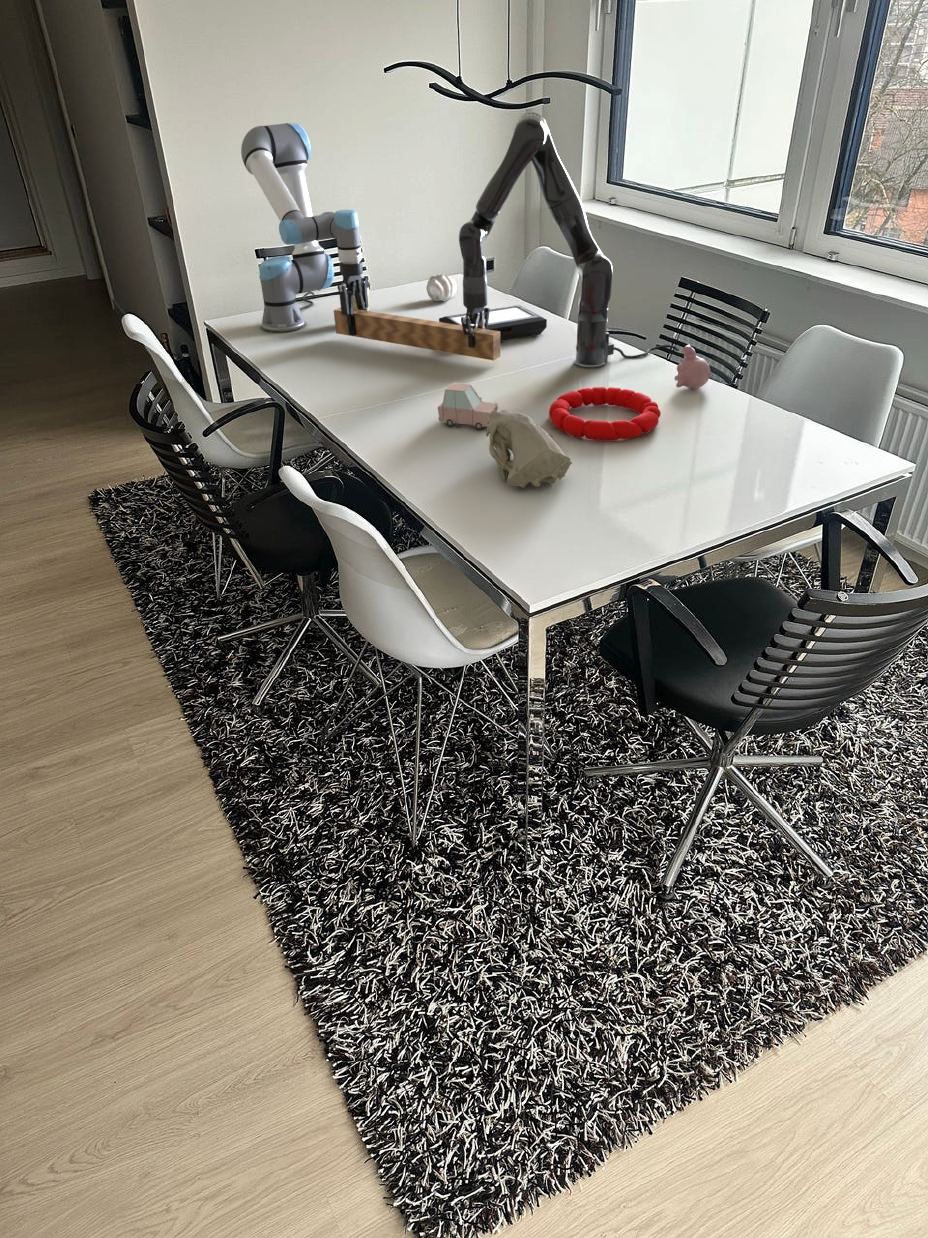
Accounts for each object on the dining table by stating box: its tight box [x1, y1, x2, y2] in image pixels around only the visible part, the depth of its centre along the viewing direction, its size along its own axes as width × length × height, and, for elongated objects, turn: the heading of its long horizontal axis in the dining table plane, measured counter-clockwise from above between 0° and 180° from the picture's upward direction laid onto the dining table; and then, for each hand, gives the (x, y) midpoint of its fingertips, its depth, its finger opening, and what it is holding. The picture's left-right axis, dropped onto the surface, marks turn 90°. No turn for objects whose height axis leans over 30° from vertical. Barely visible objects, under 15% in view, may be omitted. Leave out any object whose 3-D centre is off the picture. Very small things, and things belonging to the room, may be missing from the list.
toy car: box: [437, 382, 499, 431], centre depth 243 cm, size 9×15×10 cm, turn 70°
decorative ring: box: [548, 386, 661, 442], centre depth 242 cm, size 7×30×30 cm
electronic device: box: [438, 304, 548, 342], centre depth 309 cm, size 32×6×20 cm
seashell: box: [426, 274, 457, 302], centre depth 346 cm, size 10×15×10 cm
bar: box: [333, 306, 501, 361], centre depth 295 cm, size 64×4×8 cm, turn 58°
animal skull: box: [485, 409, 573, 489], centre depth 216 cm, size 17×25×20 cm
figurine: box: [674, 344, 711, 390], centre depth 259 cm, size 9×11×12 cm
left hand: (357, 332), depth 307 cm, fingers closed on bar, 5 cm apart
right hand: (476, 344), depth 284 cm, fingers closed on bar, 4 cm apart
